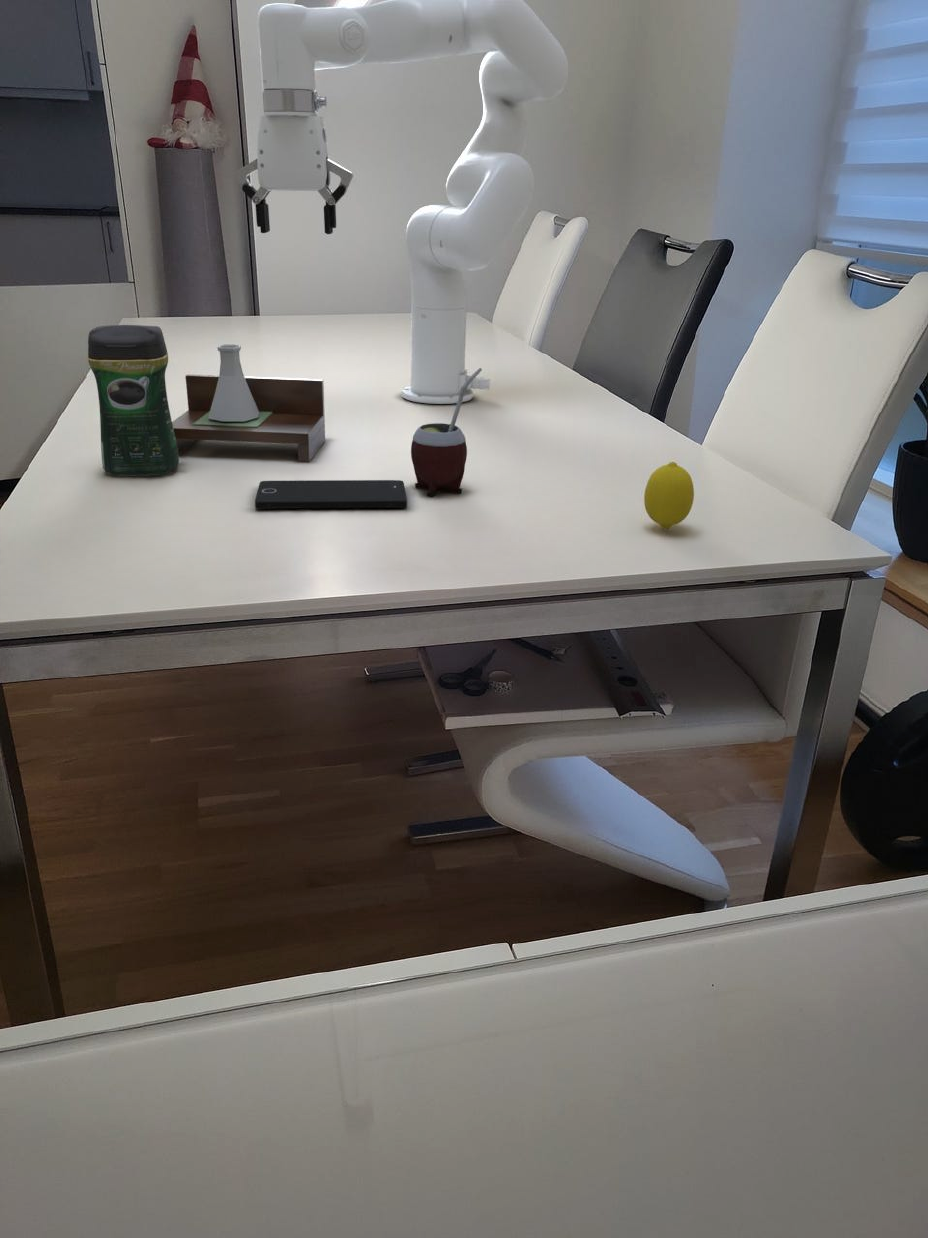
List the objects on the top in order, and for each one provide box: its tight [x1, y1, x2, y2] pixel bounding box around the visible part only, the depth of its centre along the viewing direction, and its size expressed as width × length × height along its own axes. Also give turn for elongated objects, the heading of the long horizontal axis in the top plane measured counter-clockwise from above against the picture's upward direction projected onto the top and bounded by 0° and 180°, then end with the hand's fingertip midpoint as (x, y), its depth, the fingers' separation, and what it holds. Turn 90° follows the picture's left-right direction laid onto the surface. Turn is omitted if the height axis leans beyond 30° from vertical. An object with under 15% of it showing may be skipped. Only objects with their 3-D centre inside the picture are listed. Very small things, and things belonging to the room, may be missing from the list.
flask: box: [208, 343, 259, 422], centre depth 141 cm, size 7×7×10 cm
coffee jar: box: [87, 324, 180, 477], centre depth 129 cm, size 10×8×19 cm
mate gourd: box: [410, 367, 483, 498], centre depth 126 cm, size 8×8×15 cm
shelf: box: [172, 374, 326, 463], centre depth 143 cm, size 20×12×9 cm, turn 87°
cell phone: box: [254, 479, 408, 510], centre depth 123 cm, size 9×18×1 cm, turn 96°
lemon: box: [643, 461, 695, 530], centre depth 115 cm, size 6×6×8 cm
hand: (297, 232), depth 151 cm, fingers open, 9 cm apart
